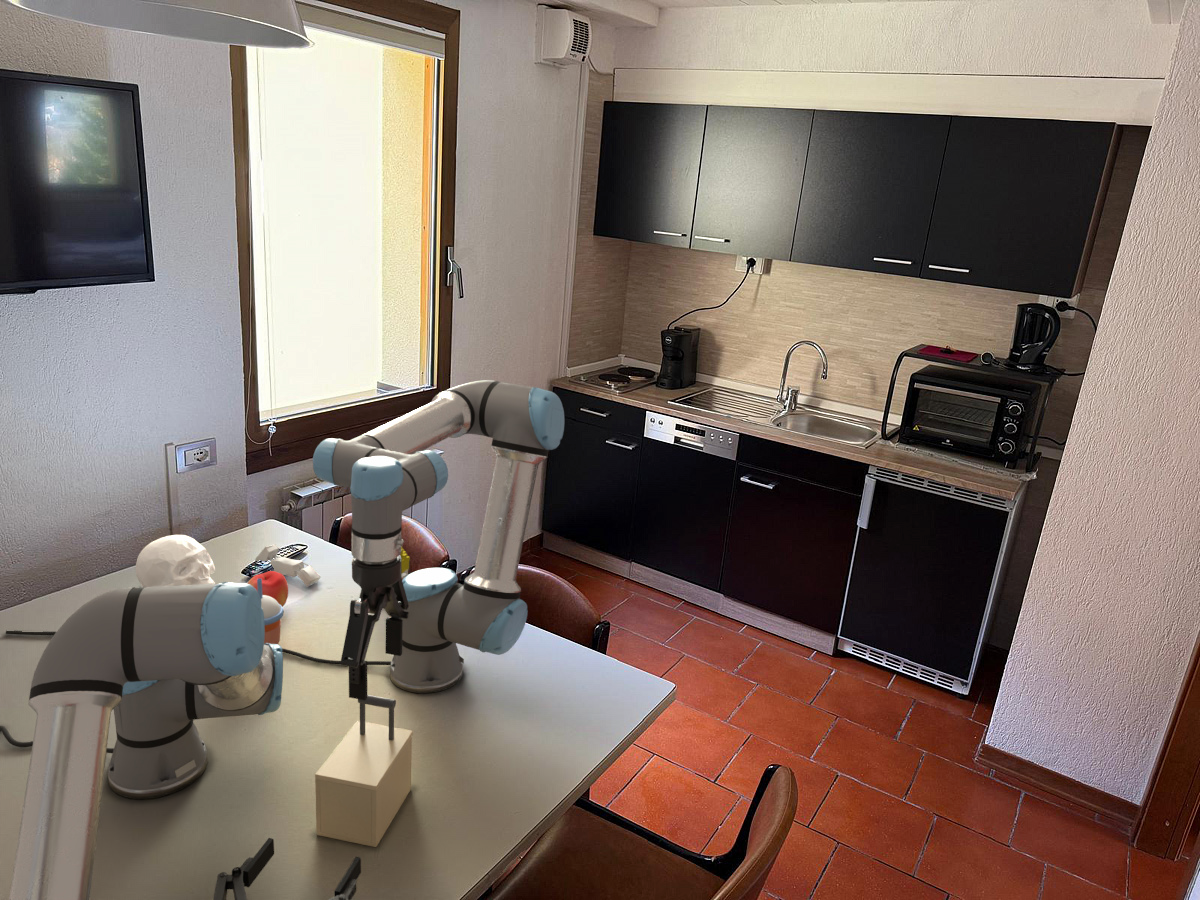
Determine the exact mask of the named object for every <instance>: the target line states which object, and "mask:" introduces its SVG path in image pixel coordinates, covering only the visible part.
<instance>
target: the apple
mask: <svg viewBox="0 0 1200 900" xmlns="http://www.w3.org/2000/svg"><path fill="white" fill-rule="evenodd" d="M259 578H261V579H262V595H267V596H270V597H272V598H274V599H275V600H276V601H277V602H278V603H279V604H280V605H281V606H282V607H283V608H284V606H285V605H286V603H287V600H288V597H289V584H288V581H287V579H286V577H285V575H282V574H281V573H278V572H275V571H268V570H267V571H266V572H264V573H259V574H255V575H254V576H253V577H251V578H250V579H249V580H248V582H247V583H246V584H250V585H251V586H253V587H254V588H255V589H256V590H257V592H258V587H257V579H259Z"/></svg>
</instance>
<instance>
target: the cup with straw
mask: <svg viewBox="0 0 1200 900" xmlns="http://www.w3.org/2000/svg"><path fill="white" fill-rule="evenodd" d="M257 587H258V593H259V596H260V598H261V607H262V608H263V613H264V623H265V637H264V644H265V643H268V644H269V643H270V644H278V645H280V641H281V630H282V620H281V619H282V618H283V616H284V613H285V609H284V606H283V607H282V606H281V605H280V604H279V603H278V602H277V601H276V600H275V599H274V598H272V597H270V596H267V595H262V579H261V578H259V579H257Z"/></svg>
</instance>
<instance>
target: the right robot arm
mask: <svg viewBox="0 0 1200 900" xmlns="http://www.w3.org/2000/svg"><path fill="white" fill-rule="evenodd" d="M564 432H565V410H564V407H563V403H562V401H561V399H560V397H559V396H558V395H557V394H556V393H555V392H553V391H551V390H547V389H543V388H541V387H540V388H539V387H536V386H529V385H528V386H527V385H521V384H517V383H516V384H515V383H509V382H503V381H498V380H492V379H486V380H485V379H483V380H476V381H470V382H467V383H462V384H459V385H455V386H454V387H450V388H448V389H446V390H444V391H441V392H439V393H438V394H435V396H434V397H433V398H432V400H431V401H430V402H429V403H427V404H425V405H423V406H421V407H419V408H417V409H414V410H412V411H410V412H408V413H406V414H404V415H402V416H400V417H397V418H395V419H393V420H391V421H389V422H387V423H385V424H382V425H380V426H378V427H376V428H374V429H371V430H369V431H367V432H366V433H363V434H361V435H359V436H357V437H354V438H351V439H350V440H344V439H343V438H333V437H331V438H325V439H323V440H322V441H320V443H319V444H317V446H316V448H315V450H314V451H313V452H314V453H313V455H312V456H313V457H312V470H313V473H314V475H315V476H316V477H317V478H318V479H319V480H321V481H323V482H326V483H329V484H332V485H334V486H340V487H345V488H349V491H350V499H351V502H350V503H351V550H350V551H351V556H352V558H351V578H352V581H353V582H354V583H355V584H357V585H358V586H359V587H360V593H359V597H358V599H351V601H350V603H349V617H348V621H347V627H346V632H345V637H344V642H343V648H342V653H341V658H340V660H335V659H334V660H333V659H324V658H318V657H313V656H310V655H307V654H303V653H301V652H298V651H294V650H290V649H286V648H283V647H282V654H283V653H284V654H288V655H292V656H295V657H298V658H300V659H304V660H306V661H310V662H314V663H318V664H319V663H320V664H326V665H337V666H338V665H340V666H343V667H348V698H350V699H356V700H358V699H360V700H366V699H367V695H368V666H389V679H390V681H391V682H392V683H393V684H394V685H395V686H396V687H398V688H399V689H401V690H404V691H407V692H410V693H416V694H430V693H431V694H432V693H438V692H441V691H445V690H447V689H450V688H451V687H453V686H455V685H456V684H457V683H458V682H459V681H460V680H461V679H462V676H463V672H464V664H465V658H463V657H462V656H460V653H459V649H458V646H457V644H458V645H460V646H465V647H468V648H471V649H474V650H477V651H479V652H481V653H489V654H492V655H497V656H499V655H504V654H506V653H507V652H509V651H510V650H511V649H512V648H513V647H514V646H515V644H516V643H517V641H518V640H519V639H520V636H521V635H522V632H523V630H524V628H525V626H526V623H527V619H528V612H529V610H528V604H527V602H525V601H524V600H523V599H521V593H522V587H521V586H520V585H519V583H518V582H517V574H518V570H519V565H520V560H521V555H522V551H523V544H524V539H525V534H526V530H527V525H528V519H529V514H530V509H531V505H532V499H533V494H534V488H535V483H536V478H537V473H538V470H539V469H538V468H539V465H540V464H541V463H543V462H544V461H545V460H546V459H548V457H549V452H550V451H552V450H556V449H557V448H558V447H559V445H560V444H561V440H562V439H563V436H564ZM464 435H477V436H481V437H482V436H484V437H486V438H492V440H491V445H490V448H491V449H492V451H493V453H494V454H495V456H496V458H495V464H494V469H493V474H492V478H491V483H490V489H489V495H488V500H487V504H486V510H485V515H484V518H483V519H484V520H483V525H482V530H481V535H480V540H479V545H478V550H477V555H476V560H475V565H474V570H473V572H472V573H471V574H469V575H468V576H466V577H465V578H464V580H463V581H464V582H463V584H461V583H458V580H459V579H458V575H457V573H456V572H455V571H454V570H452V569H450V568H445V567H428V568H422V569H418V570H416V571H413V572H410V573H408V575H407V576H406V577H405V578H404V579H403V580H402V576H401V562H402V558H401V556H400V554H401V547H402V546H403V545H404V543H405V540H404V539H403V538H402V529H403V528H402V527H403V526H402V524H403V512H404V511H406V510H408V509H410V508H411V507H413V506H415V505H417V504H419V503H422V502H423V501H427V499H431V498H432V497H434V496H435V494H437V493H438V492H440V491H442V490H443V489H444V488H445V487H446V485H447V483H448V480H449V470H448V465H447V463H446V461H445V460H444V458H443V457H442V456H441V455H440V454H439V453H437V452H436V451H433V450H429V448H431V447H433V446H435V445H437V444H438V443H440V442H442V441H444V440H446V439H448V438H451V439H456V438H457V439H458V438H460V437H463V436H464ZM383 610H384V611H385V613H386V615H387V616H388V617H386V618H385V654H386V655H391V656H392V659H391V660H389V661H388V660H386V661H385V660H384V661H383V660H366V656H367V653H368V650H369V645H370V643H371V639H372V636H373V632H374V628H375V626H376V625H375V624H376V623H377V622H379V620H380V619H381V618H380V617H381V614H382V611H383ZM22 631H23V630H14V631H7V630H6V631H5V634H6V635H17V636H18V635H19V636H20V635H21V636H22V635H23V636H54V634H55V633H56V632H57V631H43V630H42V631H43V632H22Z"/></svg>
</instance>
